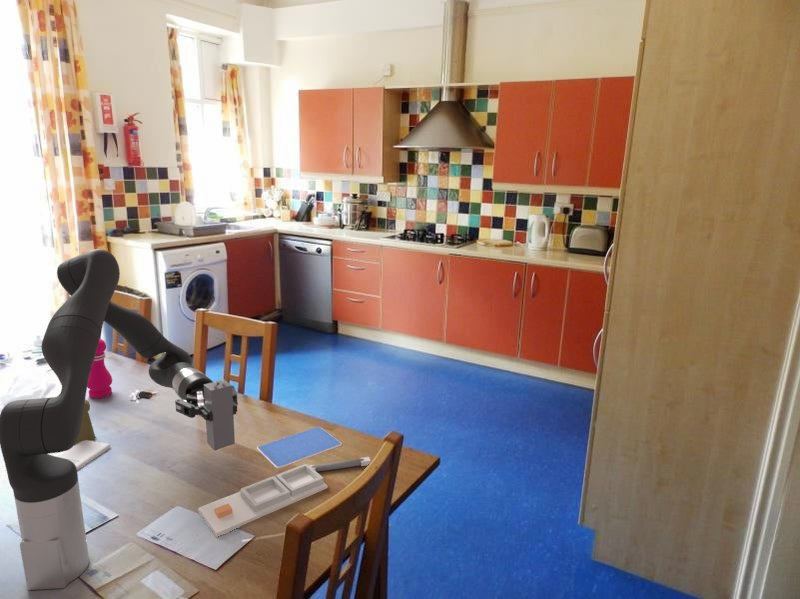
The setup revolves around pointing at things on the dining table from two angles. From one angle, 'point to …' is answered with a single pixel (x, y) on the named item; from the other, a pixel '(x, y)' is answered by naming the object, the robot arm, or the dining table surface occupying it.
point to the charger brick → (220, 414)
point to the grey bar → (341, 464)
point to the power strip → (261, 499)
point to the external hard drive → (84, 452)
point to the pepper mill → (99, 375)
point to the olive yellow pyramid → (86, 426)
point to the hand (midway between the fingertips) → (223, 413)
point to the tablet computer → (298, 447)
